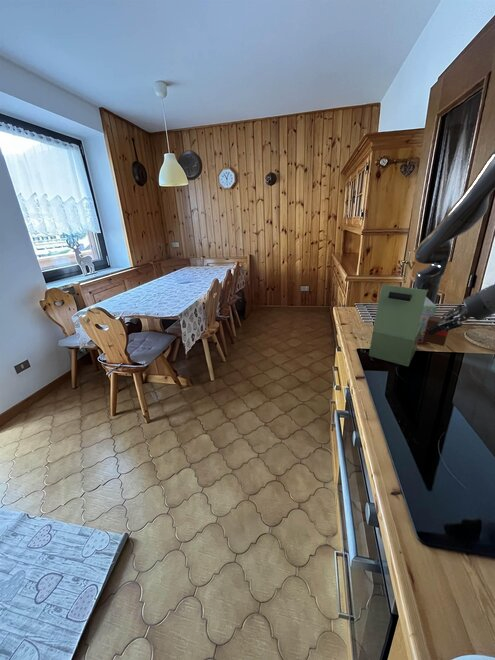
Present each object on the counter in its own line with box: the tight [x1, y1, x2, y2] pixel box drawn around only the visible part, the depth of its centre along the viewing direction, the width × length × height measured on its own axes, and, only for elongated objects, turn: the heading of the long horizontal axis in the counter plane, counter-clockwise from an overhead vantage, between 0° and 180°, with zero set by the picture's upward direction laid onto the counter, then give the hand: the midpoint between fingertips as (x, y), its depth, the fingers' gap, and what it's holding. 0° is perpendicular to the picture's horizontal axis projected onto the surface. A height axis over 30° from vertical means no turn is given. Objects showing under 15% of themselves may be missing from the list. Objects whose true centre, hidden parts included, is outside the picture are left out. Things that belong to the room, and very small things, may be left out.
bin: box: [368, 323, 423, 368], centre depth 99 cm, size 15×13×10 cm
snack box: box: [418, 297, 438, 344], centre depth 112 cm, size 21×6×15 cm, turn 168°
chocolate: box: [423, 316, 450, 347], centre depth 92 cm, size 4×6×8 cm, turn 52°
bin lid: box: [372, 284, 427, 340], centre depth 88 cm, size 16×13×5 cm
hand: (429, 329), depth 93 cm, fingers closed on chocolate, 3 cm apart
